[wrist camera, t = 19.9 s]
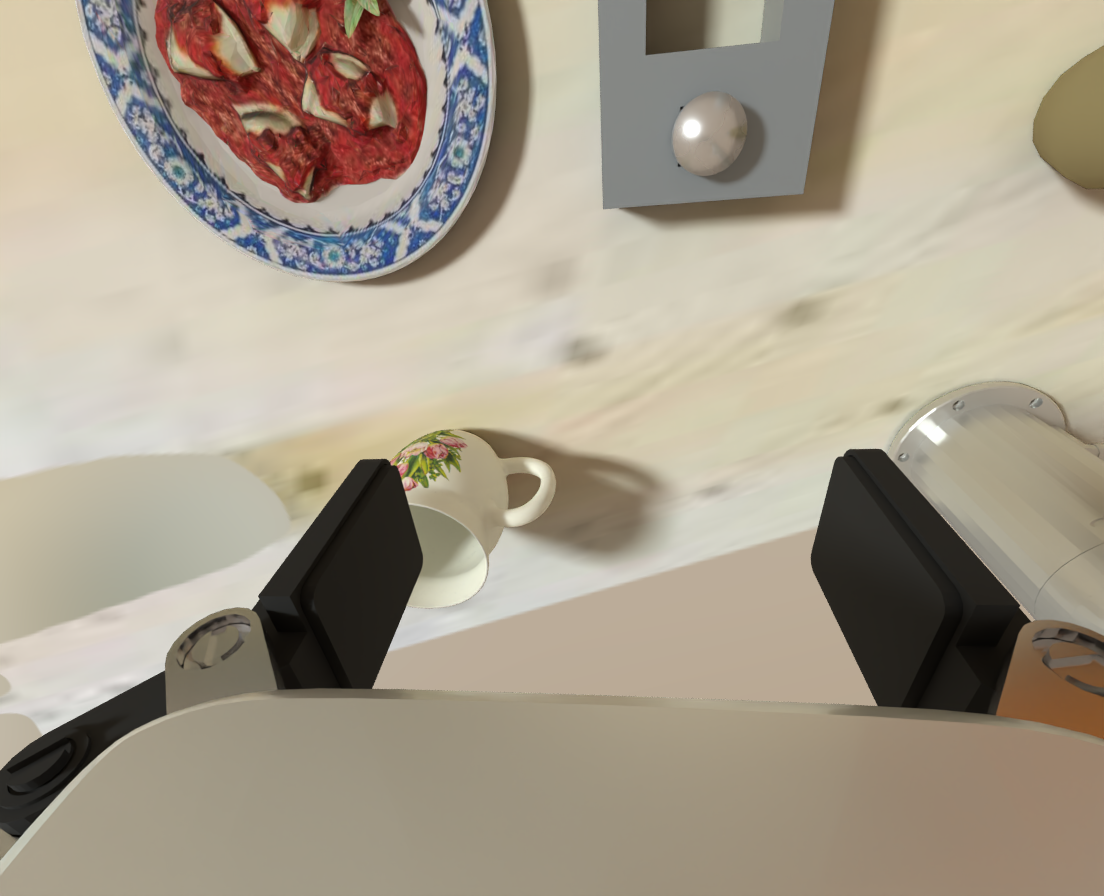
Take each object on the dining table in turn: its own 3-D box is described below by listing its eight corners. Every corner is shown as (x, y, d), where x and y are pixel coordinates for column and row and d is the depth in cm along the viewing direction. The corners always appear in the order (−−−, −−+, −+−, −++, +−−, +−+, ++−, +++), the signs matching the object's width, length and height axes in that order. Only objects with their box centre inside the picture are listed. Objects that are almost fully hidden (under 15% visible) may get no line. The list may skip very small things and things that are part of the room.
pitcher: (578, 485, 48) (570, 596, 37) (411, 520, 52) (357, 630, 41) (542, 383, 43) (519, 476, 31) (359, 431, 47) (280, 529, 35)
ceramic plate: (288, 326, 42) (268, 338, 40) (11, -51, 31) (-42, -67, 28) (567, 179, 35) (565, 183, 32) (339, -389, 23) (307, -452, 21)
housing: (595, -131, 27) (594, -169, 23) (833, -167, 25) (868, -213, 22) (603, 201, 35) (603, 209, 32) (783, 187, 34) (803, 193, 30)
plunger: (733, 93, 31) (751, 87, 27) (726, 168, 33) (742, 172, 29) (665, 99, 31) (674, 95, 27) (663, 173, 33) (671, 178, 29)
